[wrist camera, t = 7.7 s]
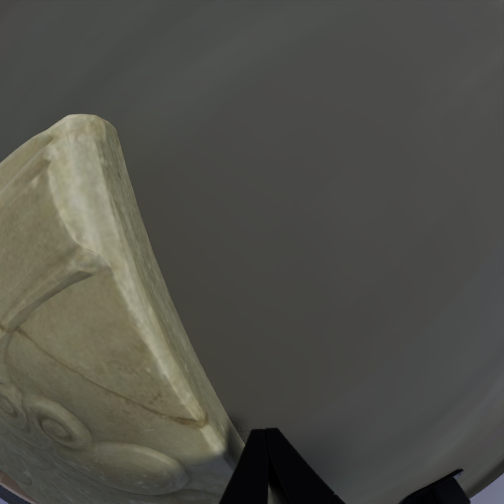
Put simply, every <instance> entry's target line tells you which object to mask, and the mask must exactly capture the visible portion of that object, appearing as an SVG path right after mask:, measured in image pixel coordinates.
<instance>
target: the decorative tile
mask: <svg viewBox="0 0 504 504" xmlns="http://www.w3.org/2000/svg"><path fill="white" fill-rule="evenodd" d="M244 446H245V444H244V443H243V441H242V439H241V438H240V436H239V434H238V433H237V431H236V429H235V427H234V426H233V424H232V422H231V420H230V419H229V417H228V415H227V413H226V412H225V410H224V408H223V406H222V405H221V403H220V401H219V399H218V397H217V395H216V393H215V391H214V389H213V388H212V386H211V384H210V382H209V380H208V378H207V376H206V374H205V372H204V370H203V368H202V366H201V364H200V362H199V360H198V358H197V356H196V354H195V352H194V349H193V347H192V345H191V343H190V341H189V339H188V337H187V334H186V332H185V330H184V327H183V325H182V323H181V320H180V318H179V316H178V314H177V311H176V309H175V306H174V304H173V302H172V299H171V297H170V295H169V292H168V290H167V287H166V284H165V282H164V279H163V276H162V274H161V271H160V269H159V266H158V264H157V261H156V258H155V256H154V253H153V251H152V248H151V244H150V242H149V239H148V236H147V233H146V229H145V227H144V224H143V221H142V218H141V215H140V212H139V209H138V206H137V203H136V199H135V195H134V192H133V189H132V186H131V182H130V179H129V176H128V172H127V169H126V165H125V162H124V158H123V154H122V150H121V146H120V142H119V138H118V135H117V131H116V129H115V128H114V127H113V126H112V125H111V124H110V123H109V122H108V121H106V120H104V119H102V118H100V117H98V116H96V115H87V114H77V115H68V116H67V117H65V118H63V119H61V120H60V121H58V122H57V123H56V124H54V125H53V126H52V127H50V128H49V129H48V130H46V131H44V132H42V133H40V134H38V135H36V136H34V137H33V138H31V139H30V140H28V141H27V142H26V143H24V144H23V145H21V146H20V147H19V148H18V149H16V150H15V151H14V152H13V153H12V154H10V155H9V156H8V157H7V158H6V159H4V160H3V161H2V162H1V163H0V470H2V471H3V472H5V473H6V474H8V475H9V476H10V477H11V478H12V479H13V480H15V481H16V482H17V483H18V485H19V486H20V488H21V489H22V490H23V491H24V492H25V493H27V494H28V495H29V496H30V497H32V498H33V499H34V500H36V501H37V502H39V503H41V504H218V503H219V501H220V499H221V497H222V495H223V493H224V491H225V489H226V487H227V484H228V482H229V480H230V478H231V476H232V474H233V471H234V469H235V467H236V465H237V462H238V460H239V458H240V455H241V453H242V451H243V448H244ZM268 504H274V502H273V499H272V495H271V492H270V488H269V485H268Z"/></svg>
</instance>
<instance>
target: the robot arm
mask: <svg viewBox="0 0 504 504" xmlns="http://www.w3.org/2000/svg"><path fill="white" fill-rule="evenodd" d="M463 472H464V470H463V469H462V468H461V469H460V470H458V471H456V472H455V473H453V474H451V475H449V476H448V477H446V478H444V479H442V480H440V481H439V482H437V483H435V484H433V485H431V486H429V487H427V488H425V489H423V490H421V491H419V492H417V493H415V494H413V495H411V496H410V497H409V498H408V499H407V500H406V501H405V503H404V504H470V503H471V502H470V500H469V498H468V497H467V495H466V494H465V492H464V491H463V489H462V488H461V486H460V485H459V483H458V482H457V479H458V478H459V476H460V475H461V474H462V473H463ZM268 485H269V488H270V492H271V495H272V499H273V502H274V504H345V503H344V502H343V501H342V500H341V499H340V498H339V497H338V496H337V495H336V494H335V493H334V492H333V491H332V490H331V489H330V488H329V486H328V485H327V484H326V483H325V482H324V481H323V480H322V479H321V478H320V477H319V476H318V475H317V474H316V472H315V471H314V470H313V469H312V468H311V467H310V466H309V465H308V463H307V462H306V461H305V460H304V459H303V458H302V457H301V455H300V454H299V453H298V452H297V451H296V450H295V448H294V447H293V446H292V445H291V444H290V442H289V441H288V440H287V439H286V438H285V436H284V435H283V434H282V433H281V432H280V430H279V429H278V428H266V429H265V430H264V429H252V430H251V432H250V434H249V437H248V439H247V441H246V444H245V446H244V448H243V451H242V453H241V455H240V458H239V460H238V462H237V465H236V467H235V469H234V471H233V474H232V476H231V478H230V480H229V482H228V484H227V487H226V489H225V491H224V493H223V495H222V497H221V499H220V501H219V503H218V504H268ZM334 494H335V495H334Z"/></svg>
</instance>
